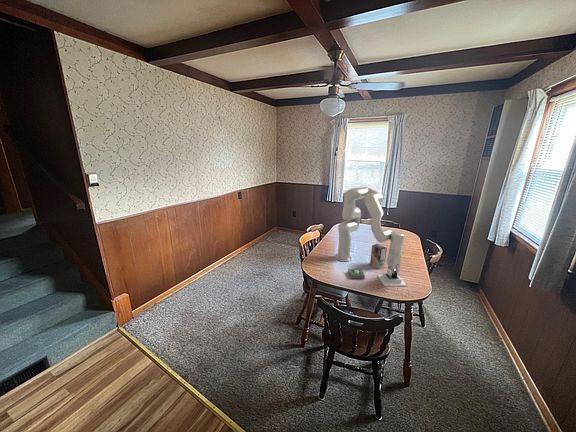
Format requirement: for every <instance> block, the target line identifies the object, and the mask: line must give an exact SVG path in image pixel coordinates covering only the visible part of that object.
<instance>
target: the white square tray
mask: <svg viewBox="0 0 576 432" xmlns="http://www.w3.org/2000/svg"><path fill="white" fill-rule="evenodd" d="M387 276H388V273H387V272H382V274H377V277H378V279H379V280H380V282H381V284H383V286H385V287H386V286H387V287H406V286H407V284H406V283H405V281H404V280H403V279H402V278H401V277H400V275H398V274H397V279H388V277H387Z"/></svg>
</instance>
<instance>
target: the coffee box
mask: <svg viewBox="0 0 576 432" xmlns="http://www.w3.org/2000/svg"><path fill="white" fill-rule="evenodd" d="M370 251H371V253H370V261H369V264H370V266H372V267H374V268H376V269H378V270H382V269H384V268H385V266H386V260H387V251H388V247H386V246H383V245H380V244H379V243H376V244H373V245H371V250H370Z"/></svg>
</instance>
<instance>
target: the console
mask: <svg viewBox="0 0 576 432" xmlns="http://www.w3.org/2000/svg"><path fill="white" fill-rule="evenodd" d="M354 270H358V271H359V274H354ZM347 273H348V275H349V278H350V279H351V280H365V278H366V275H365V273H364V271H363V270H362V269H361V268H348V270H347Z"/></svg>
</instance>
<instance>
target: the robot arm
mask: <svg viewBox="0 0 576 432" xmlns="http://www.w3.org/2000/svg"><path fill="white" fill-rule="evenodd" d="M362 199H363V200H364V201H363V202H364V205H365V206H366V208H367V211H368V213H369V216H370V229H371V232H372V234H373V236H374V239H375V240H376V241H377V242H379V243H385V242H389V241H390V242H389V250H388V254H387V256H386V265H388V266H387V269H388V268H389V267H390V268H391V269H393V273H392V277H391V278H392V279H397V275H398V274H399V272H400V269H401V263H402V262H401V261H402V259H401V258H402V255H403V254H402V253H403V246H404V241H405V234H404V233H403V232H400V231H396V230H393V229H391V228H385V229H383V228H382V226H381V220H382V217H383V216H384V210H383V208H382V206H381V204H382V203H383V201H384V197H383V194H381V192H378V191H376V190H374V189H373V188H369V187H367V186H361V187H353V188H350V189H347V190H346V191H345V193H344V199H343V205H342V206H343V207H342V208H343V209H342V215H341V217H342V219H343V220H344V221H341V222H340V223H339V224H338V228H337V229H338V246H337V254H336V255H335V259H336V260H337V261H339V262H344V263H345V262H351V261H352V260H353V259H352V256H351V255H350V254H351V247H352V236H351V233H353V232H356V231H357V230H359V227H360V223H361V219H362V210H361V209H360V208H359V207H358V206H356V203H357V202H356V201H357V200H362ZM395 268H396V269H395ZM394 270H396V271H394ZM386 273H388V271H387V272H386Z"/></svg>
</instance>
